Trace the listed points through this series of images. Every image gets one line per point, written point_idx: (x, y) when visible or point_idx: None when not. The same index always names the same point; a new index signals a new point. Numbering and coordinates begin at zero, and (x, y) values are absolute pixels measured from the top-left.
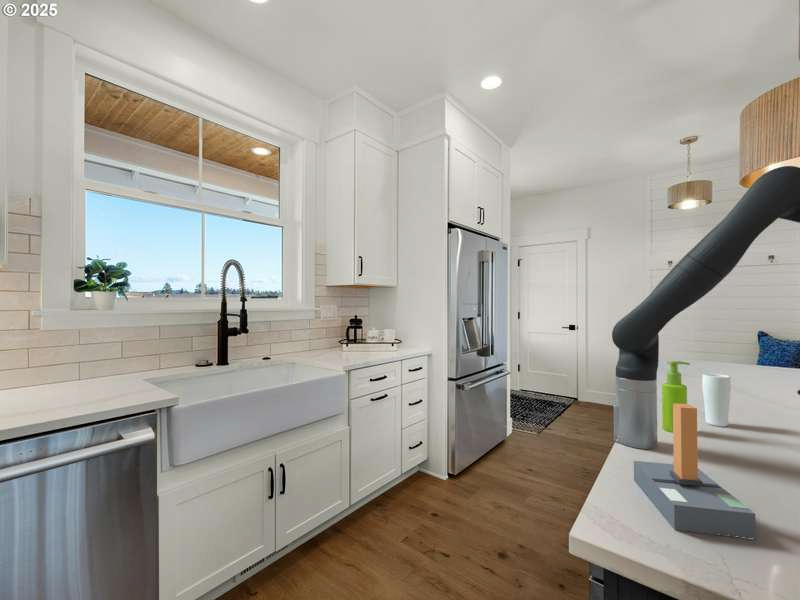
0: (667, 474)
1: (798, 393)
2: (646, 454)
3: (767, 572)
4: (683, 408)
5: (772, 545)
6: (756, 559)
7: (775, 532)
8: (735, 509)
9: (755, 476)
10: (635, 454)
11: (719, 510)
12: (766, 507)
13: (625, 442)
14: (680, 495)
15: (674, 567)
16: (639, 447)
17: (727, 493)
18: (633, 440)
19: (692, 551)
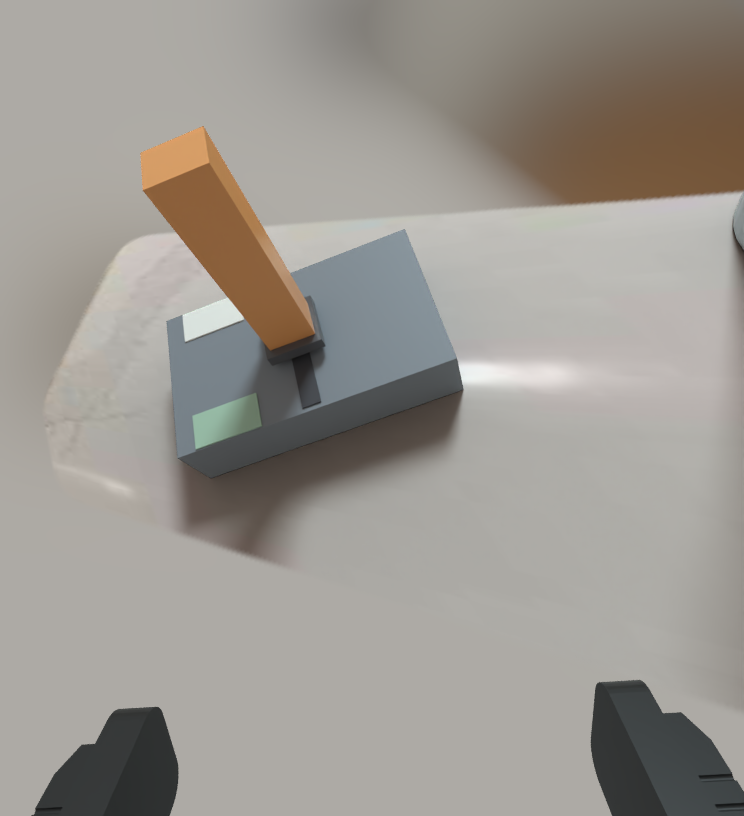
0: (340, 301)
1: (616, 682)
2: (686, 267)
3: (104, 473)
4: (142, 161)
5: (200, 504)
6: (139, 465)
7: (262, 525)
8: (184, 423)
9: (715, 579)
10: (656, 242)
11: (172, 394)
12: (408, 542)
13: (741, 196)
14: (212, 329)
15: (84, 353)
16: (739, 239)
17: (271, 418)
18: (741, 206)
19: (134, 375)
